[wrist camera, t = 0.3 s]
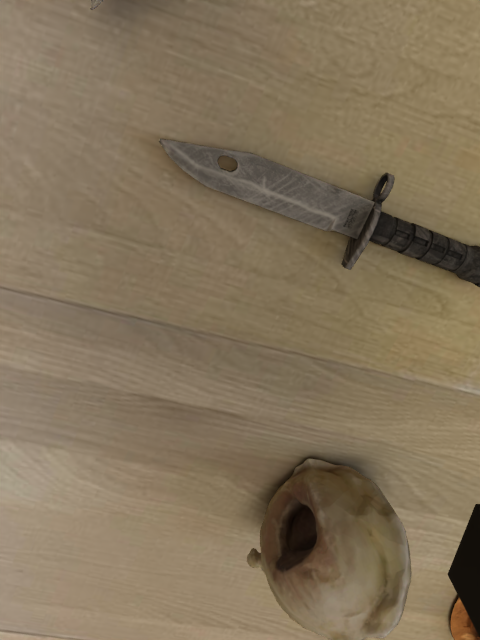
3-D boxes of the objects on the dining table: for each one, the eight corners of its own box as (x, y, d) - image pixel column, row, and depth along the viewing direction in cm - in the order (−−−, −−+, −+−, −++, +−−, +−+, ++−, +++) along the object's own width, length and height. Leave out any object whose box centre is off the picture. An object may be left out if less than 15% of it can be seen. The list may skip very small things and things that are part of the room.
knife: (141, 197, 20) (172, 83, 18) (147, 192, 22) (176, 87, 20) (477, 318, 23) (532, 231, 22) (459, 304, 25) (508, 223, 23)
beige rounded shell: (358, 440, 32) (471, 535, 23) (342, 538, 34) (441, 660, 25) (238, 456, 28) (317, 575, 19) (229, 564, 30) (296, 717, 21)
